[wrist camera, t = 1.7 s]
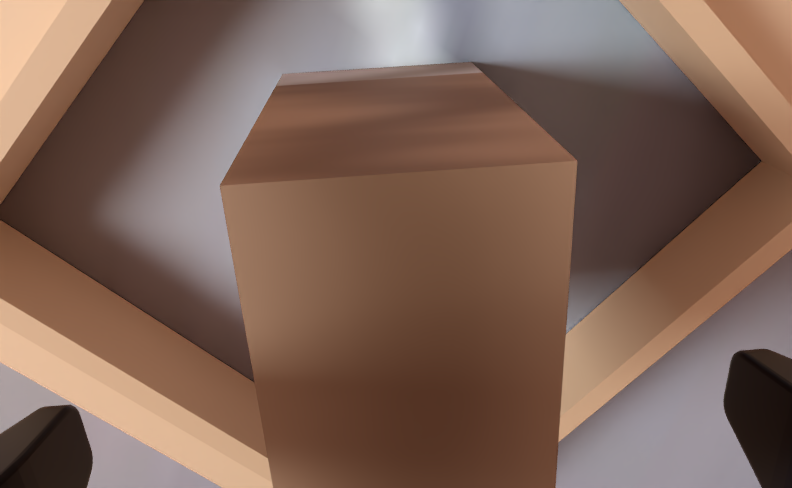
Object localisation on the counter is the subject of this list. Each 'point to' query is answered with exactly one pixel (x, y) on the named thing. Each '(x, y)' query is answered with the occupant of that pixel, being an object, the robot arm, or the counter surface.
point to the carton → (236, 395)
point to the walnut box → (403, 279)
